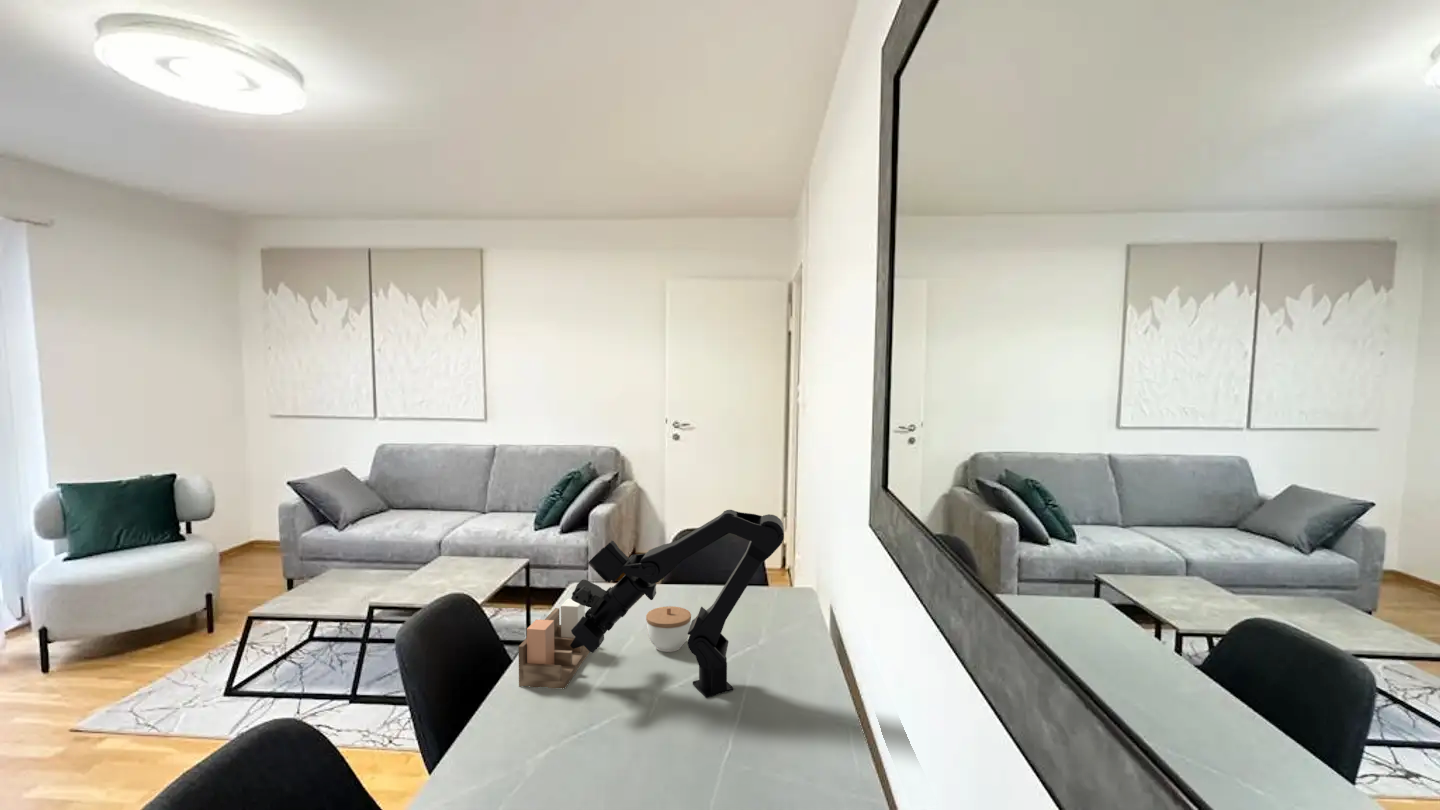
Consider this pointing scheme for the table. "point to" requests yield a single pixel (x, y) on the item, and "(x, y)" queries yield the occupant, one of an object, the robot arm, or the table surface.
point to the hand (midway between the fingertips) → (572, 646)
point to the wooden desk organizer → (564, 661)
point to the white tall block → (570, 616)
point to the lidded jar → (668, 627)
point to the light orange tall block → (540, 642)
